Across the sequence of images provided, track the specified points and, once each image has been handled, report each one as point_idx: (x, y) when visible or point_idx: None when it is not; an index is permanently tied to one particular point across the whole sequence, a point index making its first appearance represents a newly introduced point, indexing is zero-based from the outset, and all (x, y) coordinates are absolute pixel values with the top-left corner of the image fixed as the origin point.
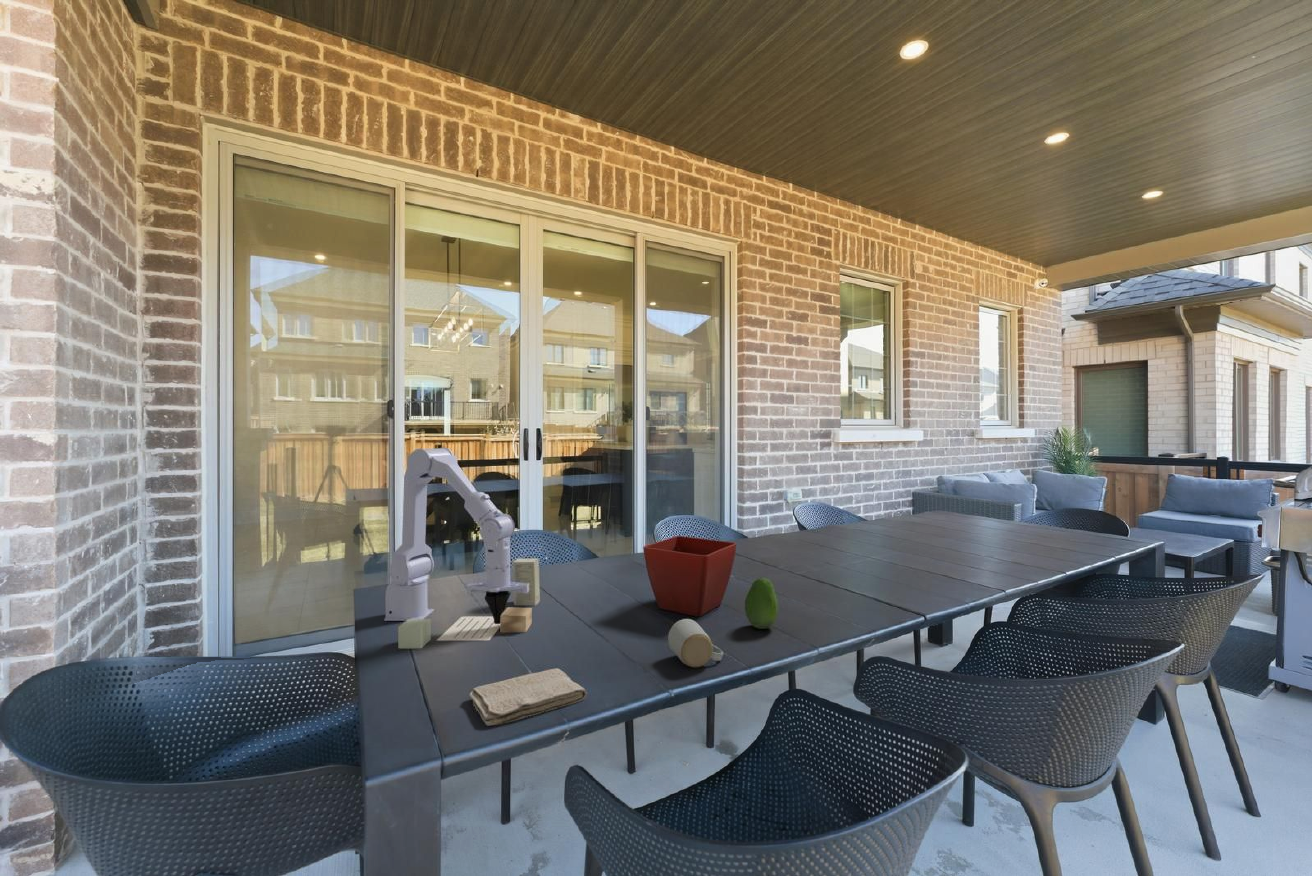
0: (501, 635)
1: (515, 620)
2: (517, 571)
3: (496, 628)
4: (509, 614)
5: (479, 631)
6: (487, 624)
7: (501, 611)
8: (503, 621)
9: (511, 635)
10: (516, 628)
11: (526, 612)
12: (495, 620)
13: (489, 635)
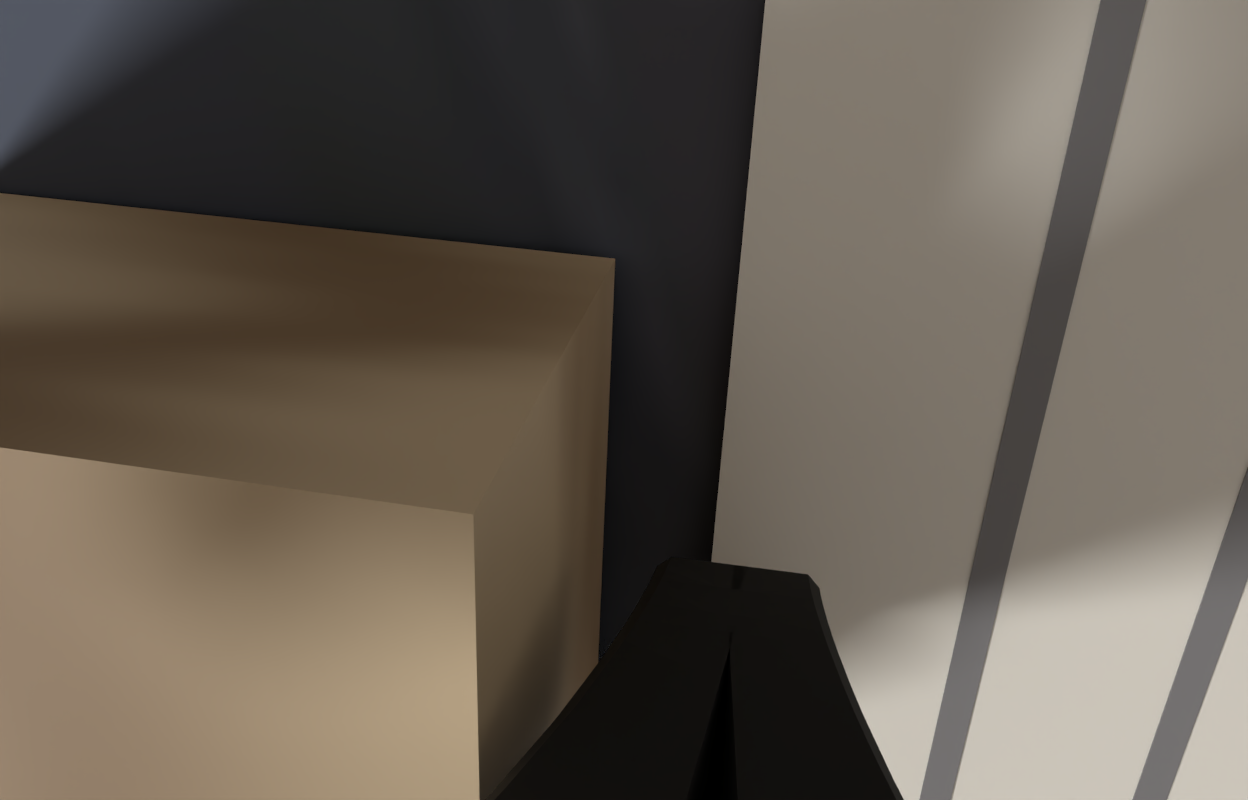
0: (541, 81)
1: (7, 357)
2: None
3: (775, 530)
4: (166, 592)
5: (1231, 384)
6: (1049, 798)
7: (492, 795)
8: (430, 386)
9: (266, 57)
10: (127, 253)
11: None
12: (777, 618)
13: (881, 24)
